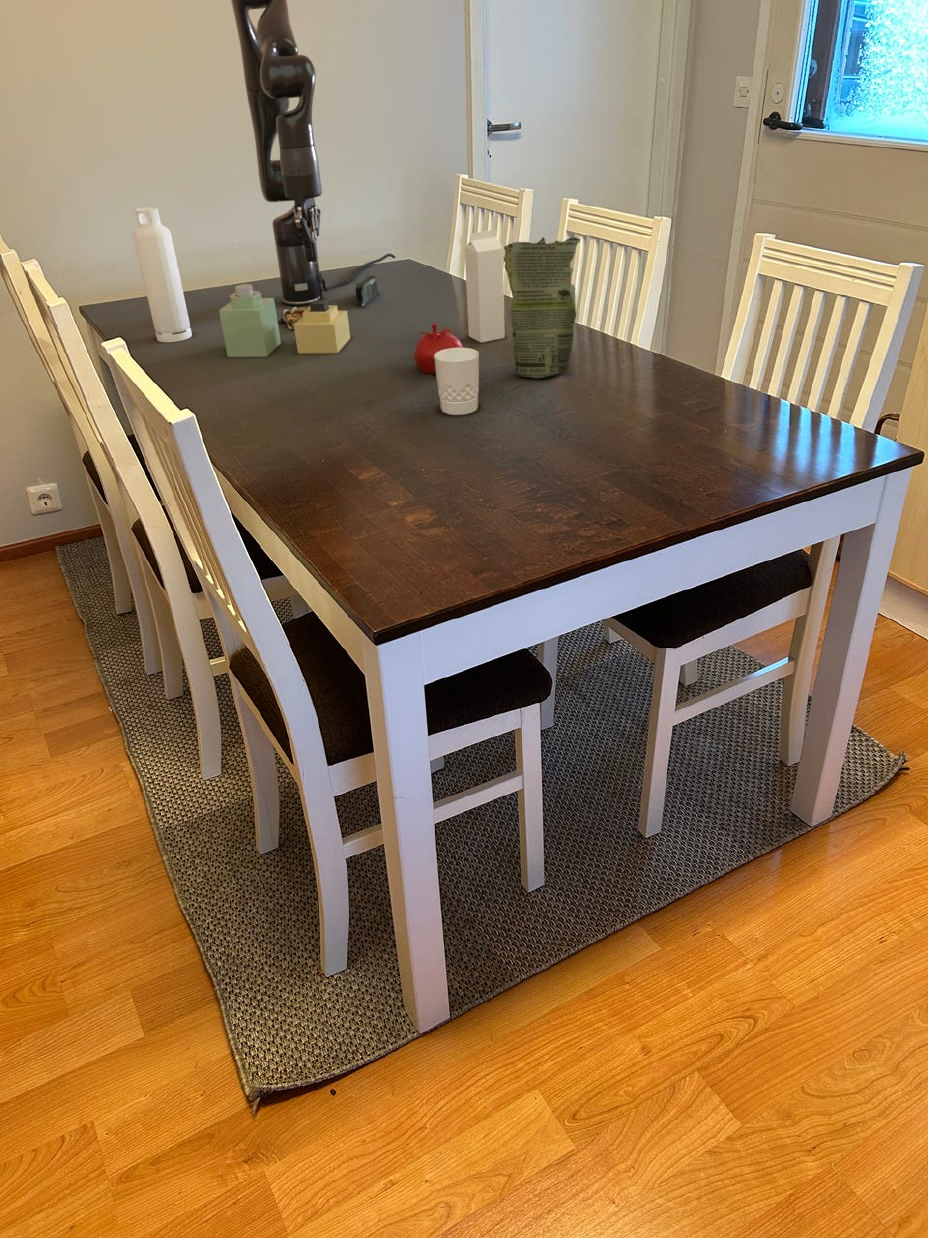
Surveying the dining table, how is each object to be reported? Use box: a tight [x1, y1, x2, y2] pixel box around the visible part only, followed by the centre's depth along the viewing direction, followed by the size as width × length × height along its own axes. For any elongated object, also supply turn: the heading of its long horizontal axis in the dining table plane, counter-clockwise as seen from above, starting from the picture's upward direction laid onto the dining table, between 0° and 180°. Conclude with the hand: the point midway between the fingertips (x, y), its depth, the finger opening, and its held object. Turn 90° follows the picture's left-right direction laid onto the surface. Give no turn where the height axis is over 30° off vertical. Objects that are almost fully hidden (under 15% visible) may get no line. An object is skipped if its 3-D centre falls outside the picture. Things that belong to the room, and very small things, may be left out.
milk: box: [464, 229, 505, 344], centre depth 200 cm, size 6×6×22 cm
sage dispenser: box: [218, 290, 282, 358], centre depth 204 cm, size 10×9×12 cm
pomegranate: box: [413, 323, 464, 375], centre depth 186 cm, size 10×10×9 cm
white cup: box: [434, 347, 480, 416], centre depth 167 cm, size 8×8×10 cm
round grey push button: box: [235, 283, 254, 297], centre depth 200 cm, size 4×4×2 cm
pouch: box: [503, 236, 581, 379], centre depth 178 cm, size 11×12×25 cm
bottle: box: [132, 206, 193, 343], centre depth 211 cm, size 8×8×28 cm
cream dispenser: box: [293, 305, 351, 354], centre depth 205 cm, size 11×9×8 cm
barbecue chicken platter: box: [278, 306, 307, 330], centre depth 222 cm, size 7×12×4 cm, turn 29°
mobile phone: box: [355, 275, 378, 308], centre depth 238 cm, size 5×3×15 cm
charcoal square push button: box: [309, 299, 330, 312], centre depth 202 cm, size 3×3×2 cm
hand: (312, 260), depth 197 cm, fingers closed
